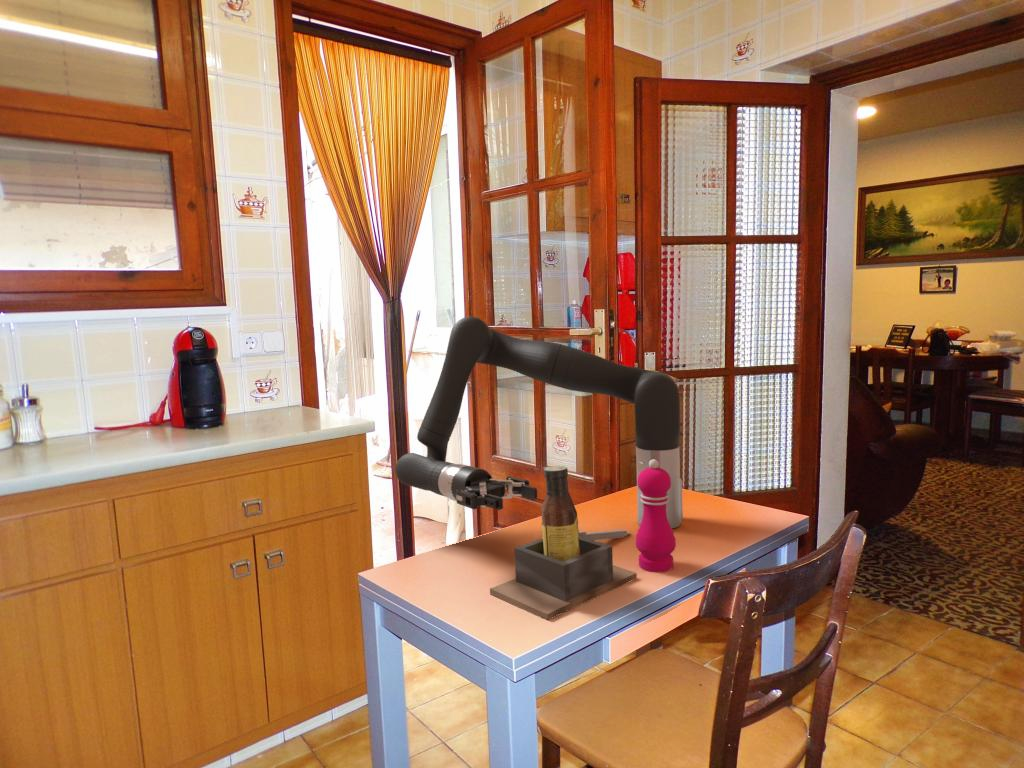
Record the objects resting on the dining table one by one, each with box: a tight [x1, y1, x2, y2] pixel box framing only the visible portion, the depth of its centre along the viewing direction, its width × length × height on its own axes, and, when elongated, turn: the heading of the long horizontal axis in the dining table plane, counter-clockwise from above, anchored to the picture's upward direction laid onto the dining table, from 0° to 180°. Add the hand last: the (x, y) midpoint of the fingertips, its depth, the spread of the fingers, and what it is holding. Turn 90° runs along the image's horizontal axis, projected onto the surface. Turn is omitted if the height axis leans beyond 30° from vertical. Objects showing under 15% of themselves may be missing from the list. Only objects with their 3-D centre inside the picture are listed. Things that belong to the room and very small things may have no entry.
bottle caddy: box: [489, 536, 638, 620], centre depth 117 cm, size 22×14×7 cm, turn 131°
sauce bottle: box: [540, 465, 580, 562], centre depth 116 cm, size 6×6×20 cm
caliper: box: [579, 529, 632, 541], centre depth 135 cm, size 20×1×6 cm, turn 130°
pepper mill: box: [635, 459, 677, 573], centre depth 123 cm, size 7×7×20 cm
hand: (519, 498), depth 124 cm, fingers open, 8 cm apart
